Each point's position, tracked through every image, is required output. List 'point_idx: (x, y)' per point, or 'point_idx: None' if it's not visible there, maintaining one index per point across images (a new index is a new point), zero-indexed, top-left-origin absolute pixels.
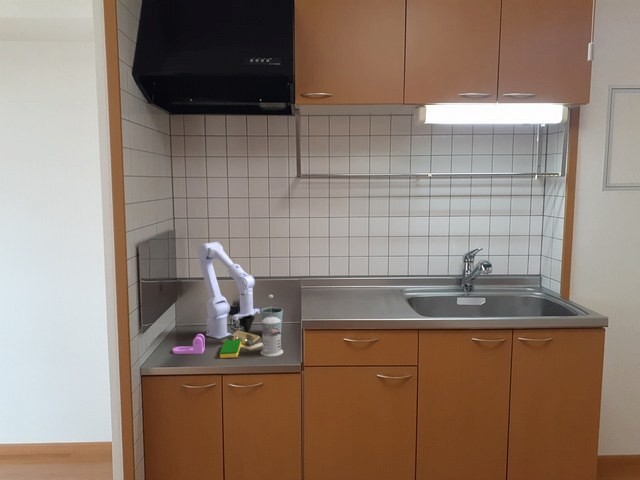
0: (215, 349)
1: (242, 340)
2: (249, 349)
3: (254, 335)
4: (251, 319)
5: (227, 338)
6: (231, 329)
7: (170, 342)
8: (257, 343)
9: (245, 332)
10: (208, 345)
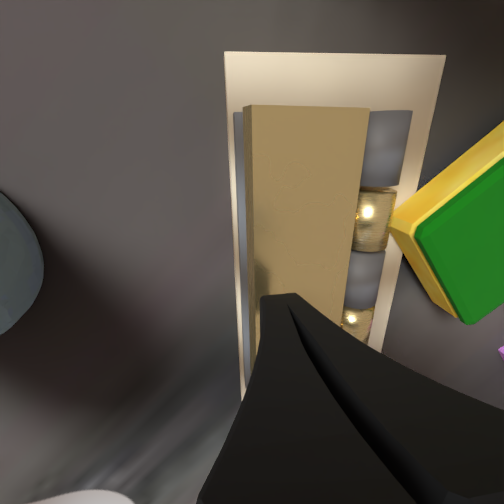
0: None
1: (389, 231)
2: (439, 61)
3: (266, 198)
4: (365, 464)
5: None
6: (156, 496)
7: None
8: None
9: (257, 343)
10: (441, 378)
